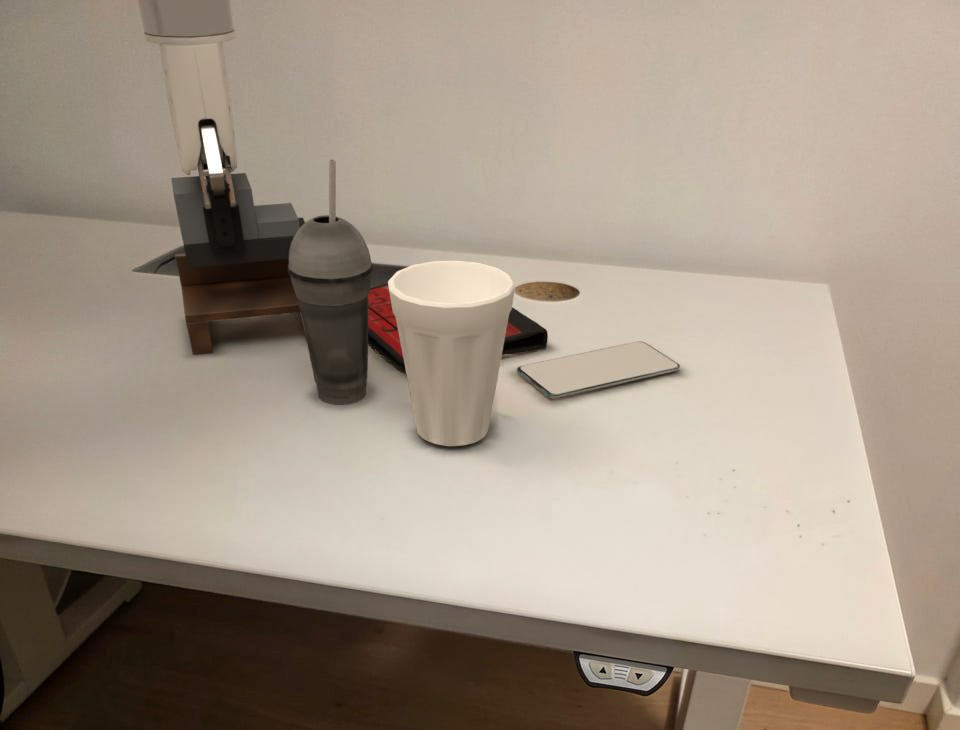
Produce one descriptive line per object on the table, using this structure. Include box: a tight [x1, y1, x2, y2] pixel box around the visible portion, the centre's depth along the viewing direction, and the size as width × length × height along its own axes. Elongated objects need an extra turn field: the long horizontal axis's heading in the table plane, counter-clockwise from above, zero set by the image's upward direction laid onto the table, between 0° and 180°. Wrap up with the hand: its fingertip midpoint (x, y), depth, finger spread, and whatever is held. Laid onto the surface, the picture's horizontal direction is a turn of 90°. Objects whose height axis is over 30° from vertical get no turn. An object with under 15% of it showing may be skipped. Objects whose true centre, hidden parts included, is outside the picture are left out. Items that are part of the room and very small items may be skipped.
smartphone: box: [516, 340, 681, 399], centre depth 88 cm, size 7×1×15 cm
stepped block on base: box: [170, 172, 306, 268], centre depth 87 cm, size 12×6×6 cm, turn 106°
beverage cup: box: [288, 159, 374, 406], centre depth 78 cm, size 7×7×20 cm
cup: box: [387, 260, 516, 447], centre depth 75 cm, size 10×10×13 cm
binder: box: [368, 282, 549, 372], centre depth 96 cm, size 16×2×21 cm
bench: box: [174, 252, 301, 355], centre depth 93 cm, size 14×9×7 cm, turn 106°
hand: (225, 238), depth 88 cm, fingers closed on stepped block on base, 6 cm apart
